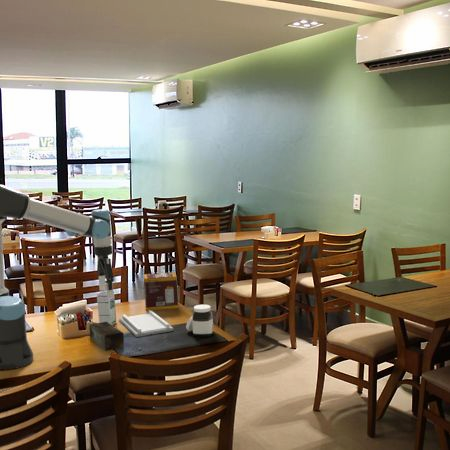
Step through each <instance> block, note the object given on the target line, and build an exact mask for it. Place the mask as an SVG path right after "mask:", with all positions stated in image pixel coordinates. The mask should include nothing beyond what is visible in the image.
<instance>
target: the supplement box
mask: <svg viewBox="0 0 450 450" xmlns="http://www.w3.org/2000/svg"><path fill="white" fill-rule="evenodd" d="M177 278H178V276H177V275H176V273H175V272H173V271H172V272H159V273H146V274H143V286H144V287H143V288H144V302H145V310H146V311H147V312H149V311H158V310H172V309H179V298H178V293H179V292H178V279H177Z"/></svg>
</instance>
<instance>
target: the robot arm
mask: <svg viewBox="0 0 450 450" xmlns="http://www.w3.org/2000/svg"><path fill="white" fill-rule="evenodd" d="M90 214H91V215H85V214H82V213H78V212H76V211H72V210H69V209H66V208H62V207H61V206H60V207H59V206H57V205H53V204H50V203H48V202H45V201H40V200H37V199H34V198H31V197H30V196H29V194H27V193H24V192H21V191H19V190H16V189H13V188H12V187H9V186H7V185H4V184H1V183H0V369H10V370H13V369H12V368H16V369H18V368H17V367H20V368H22V366H23V367H25V365H26V366H27V365H29V364H31V363H32V362H33V361H34V353H33V350H32V349H31V346H30V343H29V342H28V338H27V323H26V307H25V302H24V300H23V299H22V298H20V297H18V296H12V295H10V289H8V288H7V287H6V286H5V273H4V253H3V251H4V250H3V233H2V231H3V230H2V229H3V227H2V224H3V223H4V222H5V221H6V218H11V219H16V220H22V219H26V220H29V221H34V222H37V223H40V224H45V225H47V226H51V227H54V228H58V229H62V230H64V231H65V233H66V235H67V236H69V237H79V236H82V237H86V238H87V237H88V238H92V239H93V246H94V247H93V249H94V250H93V251H94V256H97V257H96V258H97V262H96V263H97V265H96V266H97V267H96V273H97V275H98V287H99V291H100V292H102V291H107V298H109V297H114V298H115V291H114V283H113V282H115V278H114V272H113V267H112V260H111V258H109V256H110V255H112V254H113V246H112V242H113V241H112V240H113V237H112V227H111V214H110V211H109V210H108V209H105V208H104V209H102V208H101V209H94V210H92V211H91V213H90ZM113 291H114V292H113Z"/></svg>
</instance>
